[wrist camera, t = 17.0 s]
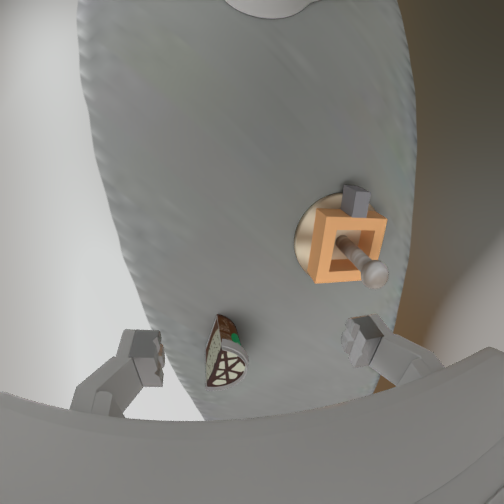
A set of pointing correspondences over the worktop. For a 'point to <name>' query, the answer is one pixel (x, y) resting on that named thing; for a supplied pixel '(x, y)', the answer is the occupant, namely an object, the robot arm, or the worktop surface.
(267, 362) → the worktop surface
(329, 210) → the orange square frame
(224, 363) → the food container
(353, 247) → the round peg stand
